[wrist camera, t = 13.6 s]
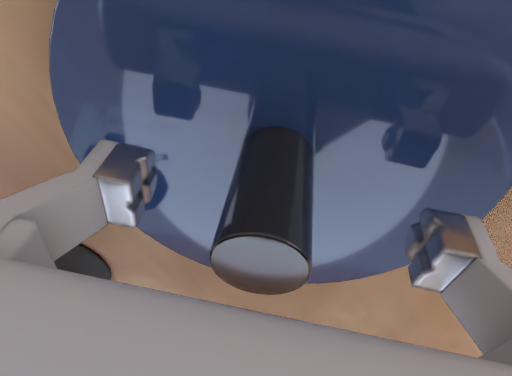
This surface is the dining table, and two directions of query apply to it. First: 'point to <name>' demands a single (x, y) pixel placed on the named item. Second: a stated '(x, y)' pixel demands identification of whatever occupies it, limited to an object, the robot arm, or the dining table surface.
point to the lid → (293, 122)
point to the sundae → (83, 263)
